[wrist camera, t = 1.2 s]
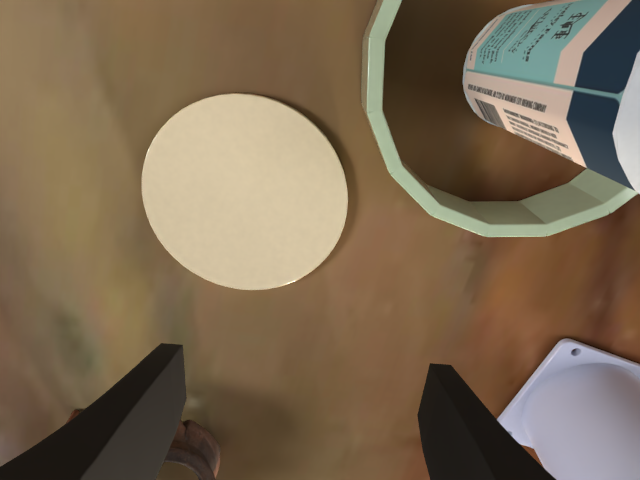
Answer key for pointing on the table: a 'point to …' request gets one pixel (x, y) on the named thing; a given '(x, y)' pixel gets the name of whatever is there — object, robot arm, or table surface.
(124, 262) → the table surface
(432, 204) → the ring
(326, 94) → the table surface
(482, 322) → the table surface
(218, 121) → the coaster
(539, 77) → the beer can
